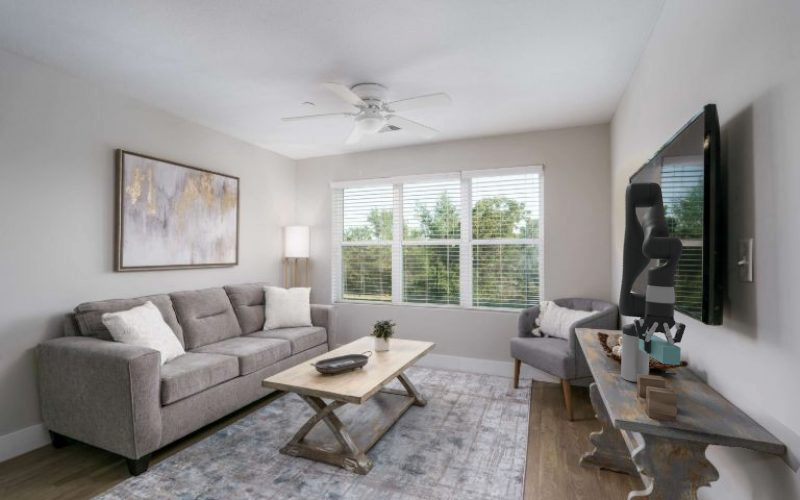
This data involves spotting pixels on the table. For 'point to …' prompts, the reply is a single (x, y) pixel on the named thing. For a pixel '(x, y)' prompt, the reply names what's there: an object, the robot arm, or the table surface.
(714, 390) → the table surface
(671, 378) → the table surface
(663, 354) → the glasses case
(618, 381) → the table surface
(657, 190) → the robot arm
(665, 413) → the wooden block pair
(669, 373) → the smartphone
